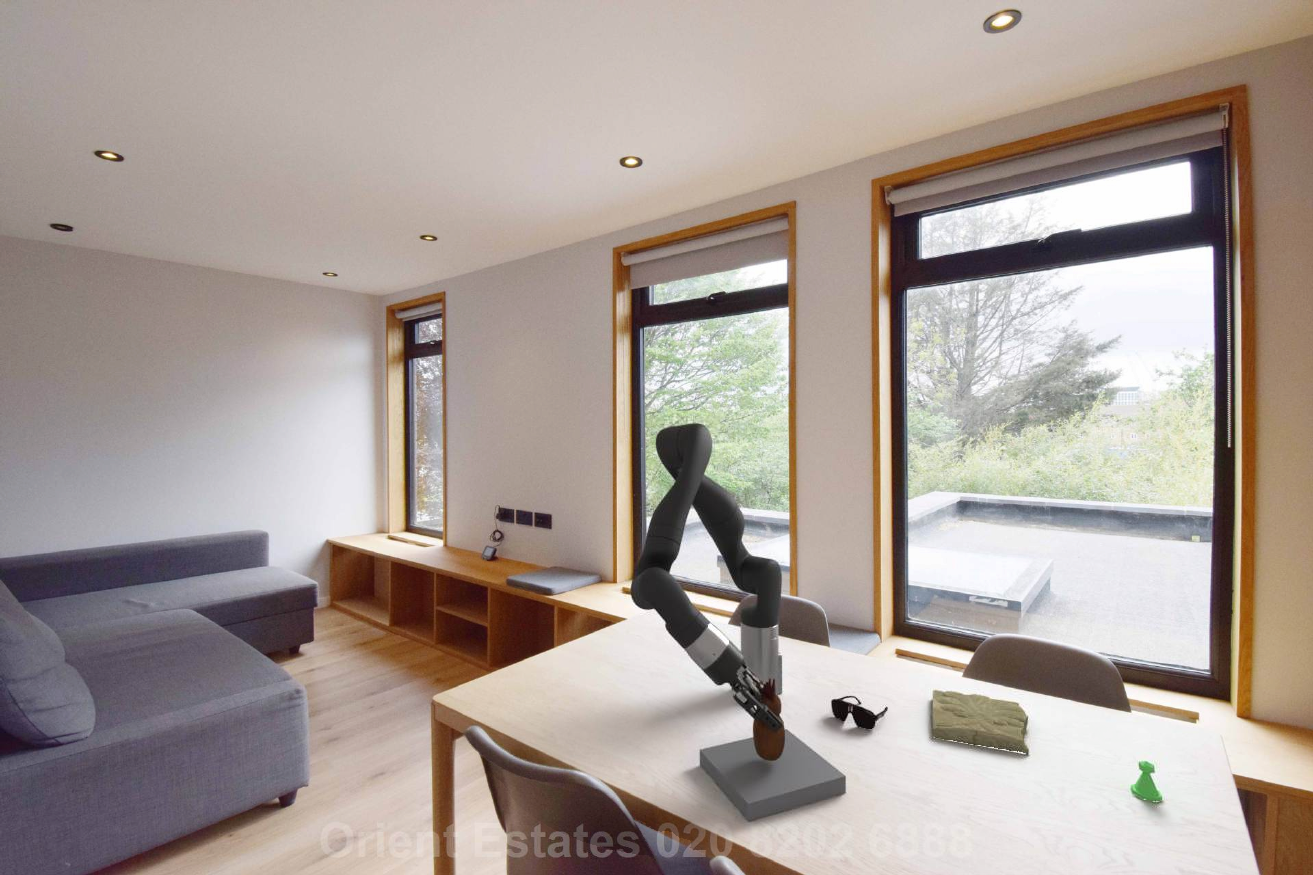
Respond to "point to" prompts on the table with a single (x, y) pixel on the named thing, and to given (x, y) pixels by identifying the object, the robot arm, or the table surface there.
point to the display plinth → (771, 776)
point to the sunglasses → (855, 713)
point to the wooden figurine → (764, 738)
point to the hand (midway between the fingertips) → (777, 718)
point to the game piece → (1146, 783)
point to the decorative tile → (979, 720)
